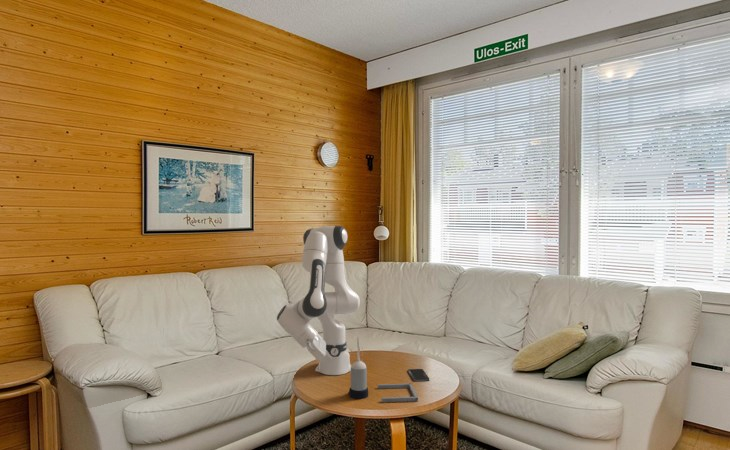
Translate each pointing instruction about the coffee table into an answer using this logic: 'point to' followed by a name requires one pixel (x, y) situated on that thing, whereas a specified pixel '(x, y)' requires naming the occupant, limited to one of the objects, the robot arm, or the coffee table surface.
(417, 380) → the phone
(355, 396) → the humidifier
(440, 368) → the coffee table surface
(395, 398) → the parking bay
